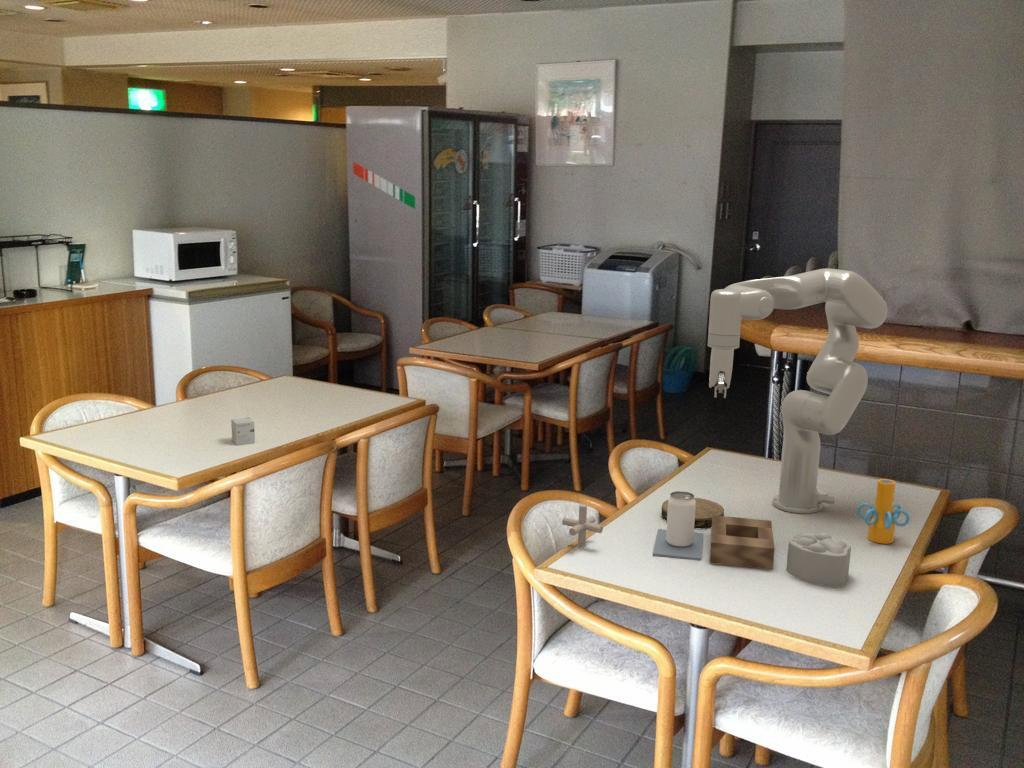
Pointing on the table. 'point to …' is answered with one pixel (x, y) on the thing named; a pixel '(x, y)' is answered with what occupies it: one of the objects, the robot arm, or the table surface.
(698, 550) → the rubber mat
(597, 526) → the pipe connector
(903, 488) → the table surface
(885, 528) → the cylinder
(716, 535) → the housing block
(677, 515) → the can
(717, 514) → the wooden disc
